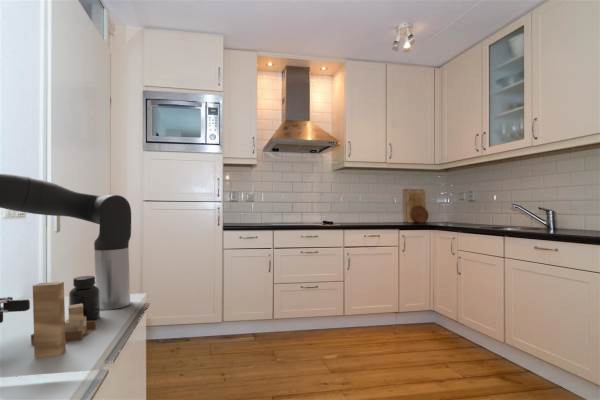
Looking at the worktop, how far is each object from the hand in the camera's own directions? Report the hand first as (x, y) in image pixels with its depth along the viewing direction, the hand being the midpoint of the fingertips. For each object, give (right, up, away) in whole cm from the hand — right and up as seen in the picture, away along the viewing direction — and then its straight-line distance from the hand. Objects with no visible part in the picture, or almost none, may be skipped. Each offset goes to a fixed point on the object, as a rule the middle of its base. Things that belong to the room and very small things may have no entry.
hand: (16, 310), depth 75 cm
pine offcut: (+5, -9, +11) cm, 15 cm away
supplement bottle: (0, -10, +23) cm, 26 cm away
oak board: (+6, -10, +1) cm, 12 cm away
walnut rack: (+3, -10, +11) cm, 15 cm away
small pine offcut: (+5, -5, +12) cm, 14 cm away
